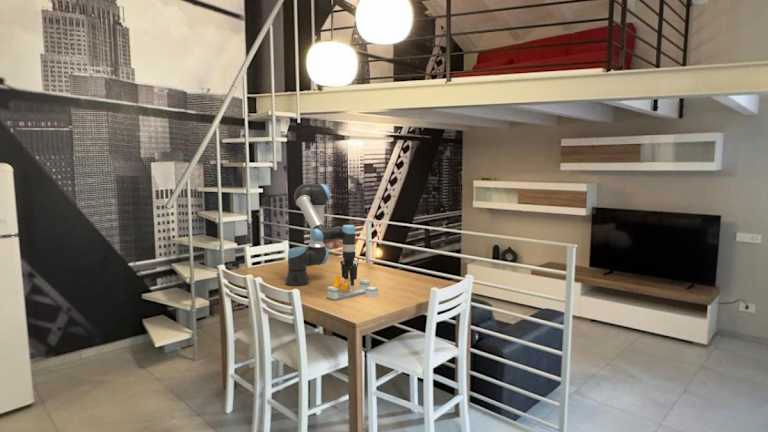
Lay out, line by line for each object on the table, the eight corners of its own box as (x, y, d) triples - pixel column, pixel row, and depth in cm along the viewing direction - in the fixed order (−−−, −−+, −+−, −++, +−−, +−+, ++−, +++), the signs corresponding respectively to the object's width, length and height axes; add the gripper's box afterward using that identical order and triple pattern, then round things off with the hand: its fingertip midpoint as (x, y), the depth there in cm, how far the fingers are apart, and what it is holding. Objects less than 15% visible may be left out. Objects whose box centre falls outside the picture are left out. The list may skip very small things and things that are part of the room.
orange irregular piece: (337, 287, 282) (340, 276, 283) (332, 286, 285) (335, 275, 286) (351, 291, 290) (354, 281, 291) (346, 290, 293) (349, 279, 294)
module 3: (365, 296, 292) (365, 288, 291) (370, 294, 296) (370, 286, 295) (372, 297, 289) (372, 289, 288) (377, 295, 293) (377, 287, 292)
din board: (326, 298, 286) (326, 296, 286) (361, 290, 306) (361, 288, 306) (335, 301, 281) (335, 298, 281) (370, 292, 301) (370, 290, 301)
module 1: (327, 297, 286) (327, 286, 285) (331, 296, 288) (331, 286, 287) (334, 299, 281) (334, 288, 281) (338, 298, 284) (338, 287, 283)
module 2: (359, 289, 303) (359, 280, 303) (362, 288, 306) (362, 279, 305) (366, 291, 299) (366, 281, 299) (369, 290, 301) (369, 280, 301)
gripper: (335, 250, 294) (335, 289, 296) (353, 253, 283) (353, 293, 284) (344, 249, 299) (345, 287, 301) (363, 251, 288) (363, 291, 290)
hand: (349, 290), depth 293 cm, fingers closed on orange irregular piece, 3 cm apart
